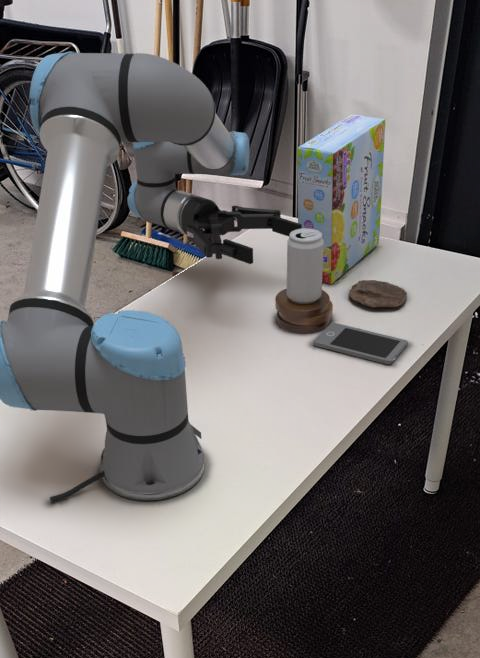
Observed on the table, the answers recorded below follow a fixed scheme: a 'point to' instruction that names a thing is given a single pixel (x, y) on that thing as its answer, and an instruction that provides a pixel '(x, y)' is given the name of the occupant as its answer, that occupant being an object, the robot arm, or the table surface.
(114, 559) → the table surface
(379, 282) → the rock
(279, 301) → the chip pile
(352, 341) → the smartphone
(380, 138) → the snack box
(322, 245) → the beverage can
